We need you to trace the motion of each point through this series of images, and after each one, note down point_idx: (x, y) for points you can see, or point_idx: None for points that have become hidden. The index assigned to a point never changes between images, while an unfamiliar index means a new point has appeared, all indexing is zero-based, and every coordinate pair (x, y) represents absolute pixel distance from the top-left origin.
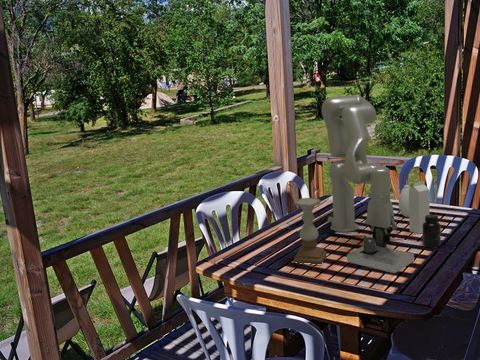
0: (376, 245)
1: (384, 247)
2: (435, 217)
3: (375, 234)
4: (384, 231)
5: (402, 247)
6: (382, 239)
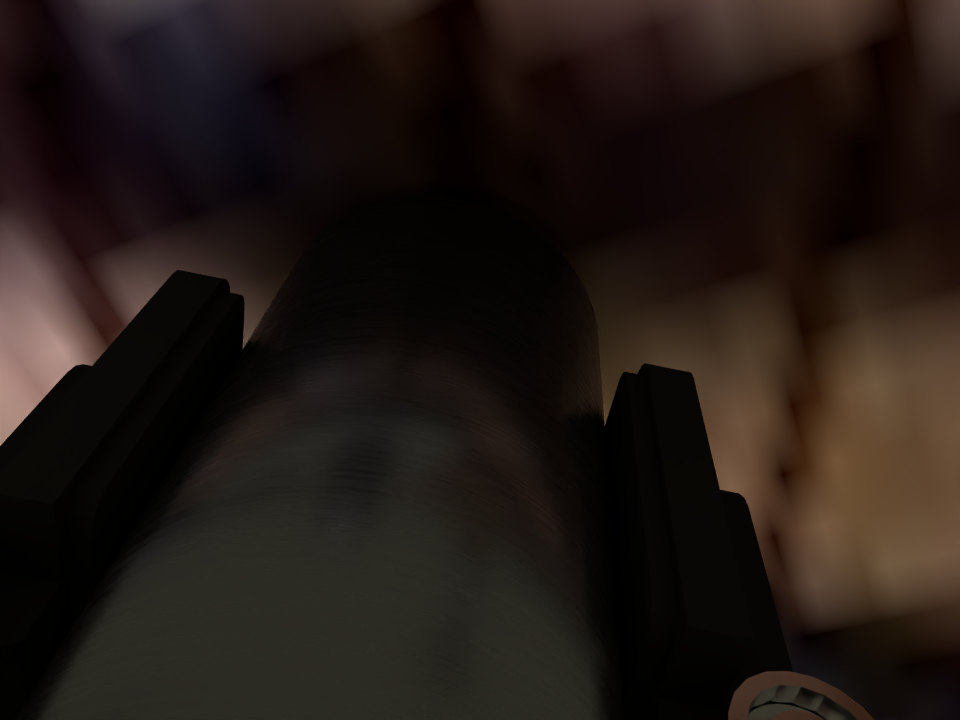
0: (532, 250)
1: (296, 265)
2: None
3: (585, 543)
4: (27, 702)
5: None
6: (253, 370)
